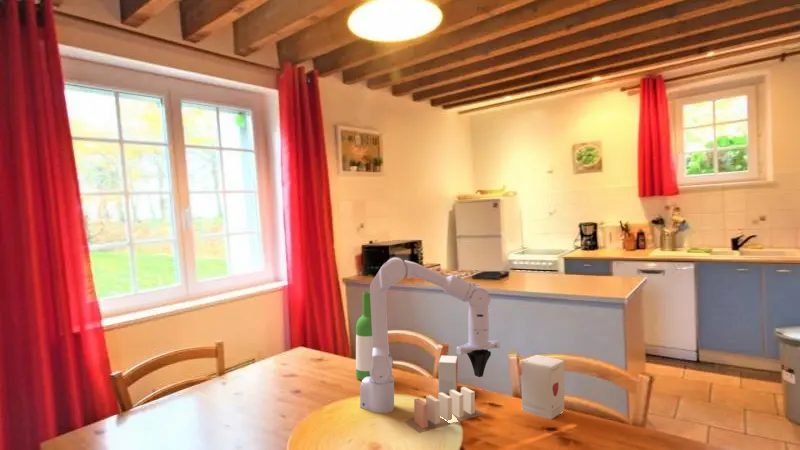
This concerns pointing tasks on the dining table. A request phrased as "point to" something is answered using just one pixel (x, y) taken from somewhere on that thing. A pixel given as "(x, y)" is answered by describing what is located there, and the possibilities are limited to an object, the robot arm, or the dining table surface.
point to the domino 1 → (421, 413)
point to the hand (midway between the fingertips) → (478, 375)
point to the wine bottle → (364, 340)
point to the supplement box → (543, 386)
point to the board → (442, 421)
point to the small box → (448, 373)
